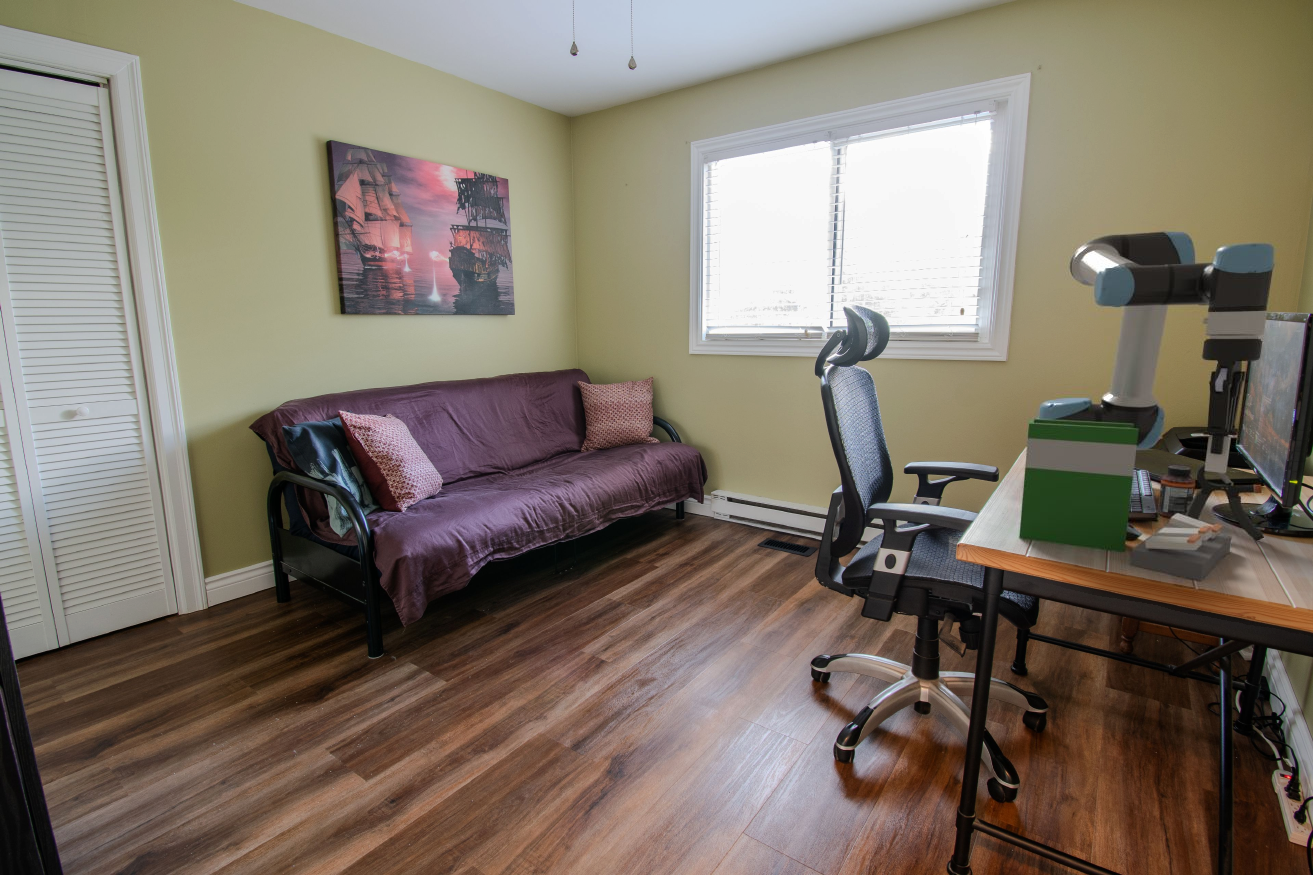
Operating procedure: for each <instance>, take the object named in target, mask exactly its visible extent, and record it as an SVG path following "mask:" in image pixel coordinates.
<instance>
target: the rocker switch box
mask: <svg viewBox="0 0 1313 875" xmlns="http://www.w3.org/2000/svg"><path fill="white" fill-rule="evenodd" d="M1163 528H1182V527H1179V526H1176V525H1173V524H1165V525H1164V526H1162V527H1161V528H1160V529H1158V530H1157V531H1155V532H1154V533H1152V534H1151V535H1150V536H1149V537H1147V538H1146V539H1144V540H1143V541H1141V543H1139V544H1138V545H1136V546H1134V547H1133V548H1132V550H1131V557H1130V566H1133V567H1138V568H1142V569H1146V570H1151V571H1155V572H1160V573H1163V574H1168V575H1173V576H1177V577H1181V578H1186V579H1191V580H1195V581H1198V582H1202V581H1203V580H1204V579H1205V577H1207V575H1208V574H1209V573H1210V572H1212V570H1213V569H1214V568H1215V567H1217V565H1218V564H1219V563H1220V562H1221V561H1222V560H1223V559H1224V558H1225V557H1226V555H1228V553H1230V550H1231V544H1232V538H1233V536H1232V535H1229V534H1228V535H1226V534H1222V533H1219V534H1218V535H1217V536H1216V537H1215V538H1214V539H1213V538H1209V539H1207V540H1201V541H1202V545H1201V546H1200V547H1199V548H1197V549H1196V550H1180V549H1157V548H1146V543H1145V541H1147V540H1148V539H1149V538H1151V537H1152V536H1158V533H1157V532H1159V531H1160V530H1162V529H1163Z"/></svg>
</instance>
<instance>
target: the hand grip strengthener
mask: <svg viewBox="0 0 1313 875" xmlns="http://www.w3.org/2000/svg"><path fill="white" fill-rule="evenodd" d="M1205 474H1206V471H1205V463H1204V464H1202V465H1201V466H1199V468H1198V470H1197V472H1196V481H1197V482H1198V483H1199V485H1200V486H1201V489H1200V490H1197V492H1196V493H1195V494H1194V497H1193V500H1192V502H1191V504H1190V506H1189V509H1188V511H1187V513H1186V516H1188V517H1190V518H1193V519H1196V520H1199V517H1200V515H1201V513H1202V511H1203V509H1204V507H1205V506H1206V502H1207V501H1208V499H1209V498H1210V496H1211V494H1212V493H1214V492H1215V491H1223V492H1225V494H1226V497H1227V500H1228V501H1227V502H1228V505H1229V508H1230V511H1231V513H1232V514H1233V516H1234V518H1235V519H1236V522H1238V524H1239V525H1240V527H1241V528H1242V529H1243V530H1244V531H1245V533H1246V534H1248V535H1249V537H1251V538H1252V539H1253V540H1254V541H1256V542H1259V541H1260V540H1262V539H1264V538H1265V536H1264V533H1263V531H1261V530H1260V529H1259V528H1258V527H1257V526H1256V525H1255V524H1254V523H1253V521H1252V520H1251V519H1250V517H1248V514H1247V513H1246V512H1245V510H1244V508H1243V506H1242V497H1241V495H1240V494H1243V493H1249V494H1252V493H1253V494H1262V485H1261V484H1248V485H1247V484H1246V485H1245V484H1242V485H1240V484H1234V482H1233V481H1231V479H1230V478H1229V476H1227V475H1226V473H1219V472H1215V474H1217V476H1218V477H1219V478H1220V479H1221V480H1222V481H1223V482H1224V484H1218V483H1213V482H1211V481H1208V480H1207V478H1206V477H1205Z"/></svg>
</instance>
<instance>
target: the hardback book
mask: <svg viewBox="0 0 1313 875" xmlns="http://www.w3.org/2000/svg"><path fill="white" fill-rule="evenodd" d="M1028 420H1029V421H1028V422H1029V423H1028V430H1027V431H1028V432H1027V440H1026V442H1027V444H1026V453H1025V455H1026V456H1025V465H1024V466H1025V467H1024V477H1023V478H1024V479H1023V487H1022V503H1021V512H1020V522H1019V523H1020V524H1019V525H1020V526H1019V537H1018V538H1019V539H1020V538H1023V539H1022V540H1028V539H1029V540H1028V541H1030V540H1031V541H1035V540H1036V541H1037V542H1043V543H1044V542H1045V543H1050V542H1051V543H1050V544H1057V545H1058V544H1059V545H1066V546H1074V547H1080V548H1081V547H1082V548H1090V549H1091V548H1092V549H1097V550H1104V551H1111V552H1118V553H1125V552H1126V551H1125V549H1126V542H1127V541H1126V540H1127V532H1128V523H1129V515H1130V507H1131V506H1130V505H1131V497H1132V490H1133V482H1134V471H1135V465H1136V454H1137V450H1136V447H1137V439H1138V430H1139V429H1135V428H1134V424H1129V423H1109V422H1089V421H1069V420H1050V419H1037V418H1030V417H1029V419H1028Z"/></svg>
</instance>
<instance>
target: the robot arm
mask: <svg viewBox="0 0 1313 875" xmlns="http://www.w3.org/2000/svg"><path fill="white" fill-rule="evenodd" d="M1195 250H1196V249H1195V245H1194V243H1193V240H1192V237H1191V236H1190V235H1189V234H1188V233H1187V232H1183V231H1166V230H1165V231H1155V232H1154V231H1153V232H1140V233H1137V232H1136V233H1127V234H1126V233H1125V234H1110V235H1109V234H1108V235H1105V236H1101V237H1097V238H1094V239H1091V240H1090V241H1087V242H1086V243H1084V244H1083V245H1082V246H1080V247H1079V248H1077V250H1076V251H1075V252H1074V253H1073V255H1072V256H1071V259H1070V262H1069V272H1070V274H1071V276H1072V277H1073V279H1074V280H1076V281H1077V282H1078V283H1080V284H1082V285H1085V286H1088V287H1090V286H1091V287H1094V290H1093V296H1094V301H1095V303H1096V305H1098V306H1101V307H1113V308H1121V307H1123V311H1122V317H1121V323H1120V329H1119V335H1118V339H1117V340H1118V342H1117V347H1116V353H1115V359H1114V366H1113V371H1112V378H1111V382H1110V383H1111V385H1110V390H1109V391H1107V392H1106V393H1104V394H1103V395H1102V397H1101V400H1100V402H1101V403H1093V401H1092V399H1091V398H1088V397H1070V398H1069V397H1065V398H1064V397H1063V398H1056V399H1050V400H1047V401H1044V402H1042V403H1041V404H1040V405H1039V410H1038V414H1037V415H1038V416H1037V418H1036V419H1050V420H1069V421H1089V422H1109V423H1129V424H1134V428H1135V429H1139V430H1138V439H1137V447H1136V451H1137V450H1138V451H1145V450H1149V449H1151V448H1152V447H1154V446H1155V445H1156V444H1157V442H1158V441H1159V439H1160V438H1161V435H1162V433H1163V430H1164V426H1165V417H1166V416H1165V411H1164V408H1163V407H1162V406H1160V405H1158V403H1159V400H1158V399H1157V398H1156V397H1155V396H1154V395H1153V389H1154V384H1155V378H1156V372H1157V368H1158V363H1159V357H1160V351H1161V345H1162V341H1163V336H1164V331H1165V330H1164V329H1165V324H1166V320H1167V319H1166V318H1167V314H1168V309H1169V306H1196V305H1197V306H1208V309H1207V317H1205V318H1203V319H1202V324H1204V325H1206V327H1205V335H1206V336H1209V338H1206V339H1205V340H1204V341H1203V345H1202V346H1203V348H1202V355H1201V358H1202V359H1203V360H1205V361H1217V364H1216V368H1215V370H1214V371H1211V374H1210V380H1209V398H1208V400H1209V401H1208V412H1207V413H1208V414H1207V415H1208V416H1207V417H1208V418H1207V428H1206V430H1203V435H1204V436H1206V435H1207V436H1208V441H1207V450H1206V456H1205V463H1204V464H1205V472H1211V473H1216V472H1219V473H1224V474H1226V473H1227V468H1228V461H1229V455H1230V454H1229V453H1230V446H1231V439H1232V438H1231V437H1232V436H1237V435H1238V431H1234V430H1235V428H1236V420H1237V417H1238V416H1237V414H1238V410H1239V404H1240V400H1241V394H1242V389H1243V385H1244V382H1245V379H1246V371H1242V366H1243V363H1242V362H1255V361H1259V359H1260V358H1261V356H1262V355H1261V354H1262V353H1261V352H1262V348H1263V347H1262V346H1263V340H1262V338H1260V336H1262V335H1265V329H1266V323H1267V314H1268V305H1269V304H1268V303H1269V297H1270V290H1271V284H1272V283H1271V282H1272V277H1273V269H1275V247H1274V246H1273V245H1272V244H1271V243H1266V242H1264V243H1262V242H1256V243H1255V242H1254V243H1240V244H1232V245H1224V246H1221V247H1219V248H1218V249H1217V250H1216V251H1215V254H1214V258H1213V261H1212V262H1196V251H1195Z"/></svg>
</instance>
